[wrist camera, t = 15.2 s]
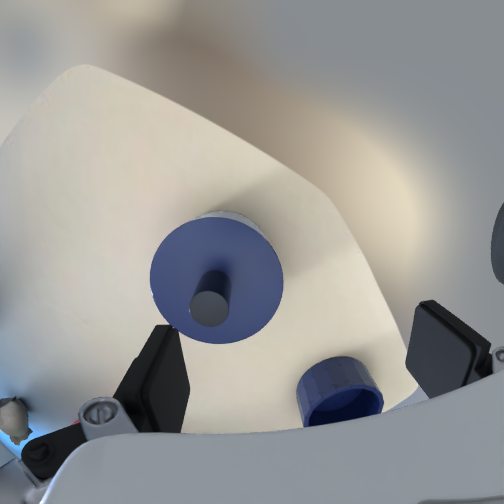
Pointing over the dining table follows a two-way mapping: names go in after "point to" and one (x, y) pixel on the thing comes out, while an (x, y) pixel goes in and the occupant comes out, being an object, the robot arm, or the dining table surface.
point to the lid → (216, 280)
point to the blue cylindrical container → (337, 392)
